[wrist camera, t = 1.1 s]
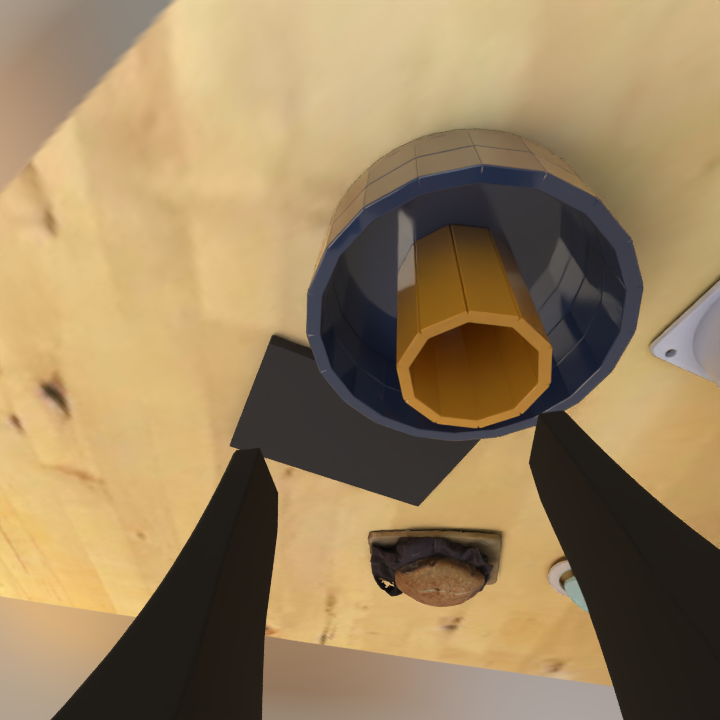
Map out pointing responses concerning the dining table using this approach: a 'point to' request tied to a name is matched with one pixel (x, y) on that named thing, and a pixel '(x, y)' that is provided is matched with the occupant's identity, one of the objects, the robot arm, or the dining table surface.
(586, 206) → the pot
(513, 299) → the cup
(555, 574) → the pacifier
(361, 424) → the pot holder
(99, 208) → the dining table surface
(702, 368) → the robot arm
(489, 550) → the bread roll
